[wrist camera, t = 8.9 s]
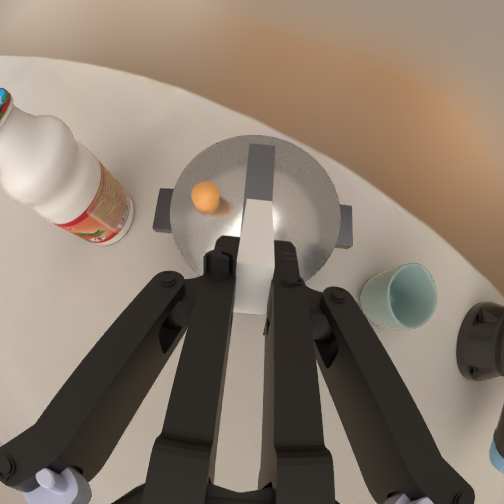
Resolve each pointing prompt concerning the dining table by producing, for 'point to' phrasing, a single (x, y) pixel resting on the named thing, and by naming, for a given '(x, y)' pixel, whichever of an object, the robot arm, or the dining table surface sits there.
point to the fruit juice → (60, 176)
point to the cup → (400, 297)
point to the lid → (259, 188)
